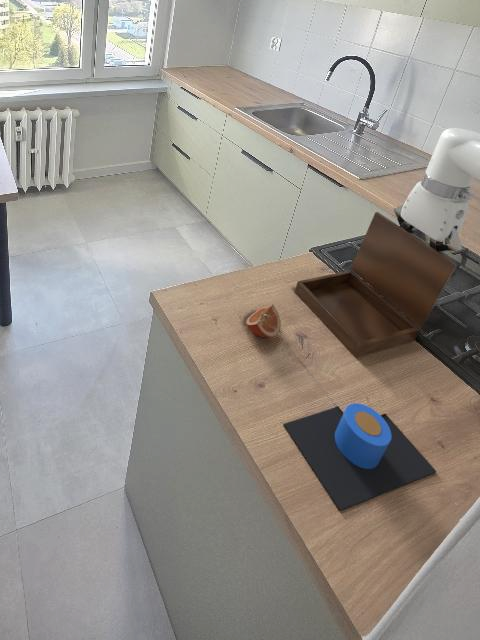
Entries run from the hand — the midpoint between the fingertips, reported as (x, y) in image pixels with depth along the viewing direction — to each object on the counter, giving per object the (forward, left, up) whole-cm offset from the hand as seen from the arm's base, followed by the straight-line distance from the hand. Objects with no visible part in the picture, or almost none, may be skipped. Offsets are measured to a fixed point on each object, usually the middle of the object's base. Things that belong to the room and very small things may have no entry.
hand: (413, 253), depth 95 cm
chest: (+12, 0, -17) cm, 21 cm away
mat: (+34, +23, -17) cm, 45 cm away
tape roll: (+34, +23, -16) cm, 45 cm away
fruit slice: (+35, -2, -17) cm, 39 cm away
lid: (+4, 0, -3) cm, 5 cm away
